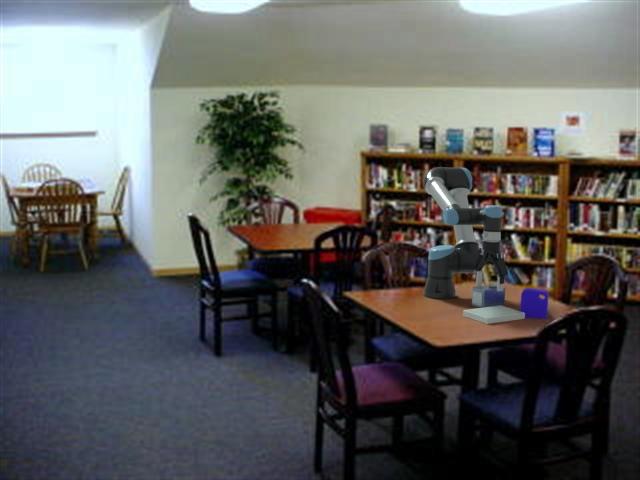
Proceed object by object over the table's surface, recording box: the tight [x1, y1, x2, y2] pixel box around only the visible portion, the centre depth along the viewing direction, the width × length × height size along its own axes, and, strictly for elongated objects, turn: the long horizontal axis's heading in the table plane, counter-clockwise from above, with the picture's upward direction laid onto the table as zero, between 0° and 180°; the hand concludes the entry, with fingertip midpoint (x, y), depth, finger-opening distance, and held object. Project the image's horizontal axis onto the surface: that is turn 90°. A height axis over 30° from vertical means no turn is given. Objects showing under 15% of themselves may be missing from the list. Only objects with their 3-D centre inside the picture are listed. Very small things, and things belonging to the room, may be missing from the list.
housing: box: [471, 283, 506, 309], centre depth 378 cm, size 8×13×10 cm, turn 120°
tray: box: [462, 305, 526, 325], centre depth 360 cm, size 15×21×3 cm
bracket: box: [519, 287, 550, 319], centre depth 369 cm, size 18×11×12 cm, turn 159°
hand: (489, 288), depth 378 cm, fingers open, 13 cm apart
